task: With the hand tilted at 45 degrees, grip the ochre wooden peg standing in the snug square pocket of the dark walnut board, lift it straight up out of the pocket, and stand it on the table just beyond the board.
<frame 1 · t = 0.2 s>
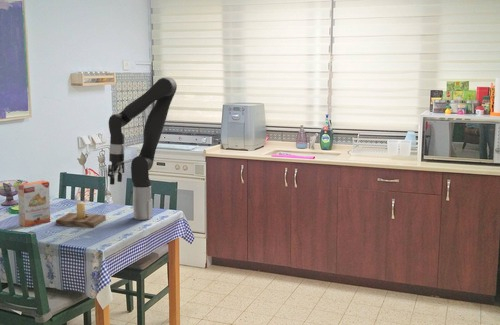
hand: (115, 183, 289), 18 cm above the table, tool pointing down, fingers open, 8 cm apart
cracker box: (35, 224, 276), on the table
ochre peg: (80, 212, 279), in the walnut pocket board
walnut pocket board: (81, 222, 279), on the table
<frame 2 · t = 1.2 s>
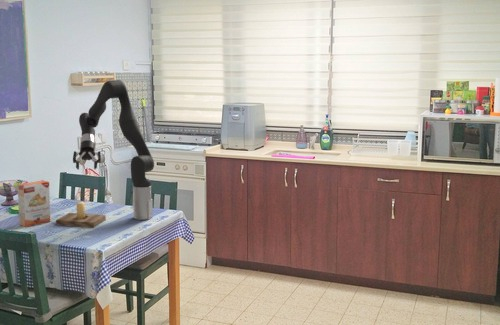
hand: (86, 168, 291), 25 cm above the table, tool tilted 45°, fingers open, 8 cm apart
nothing on the table moved.
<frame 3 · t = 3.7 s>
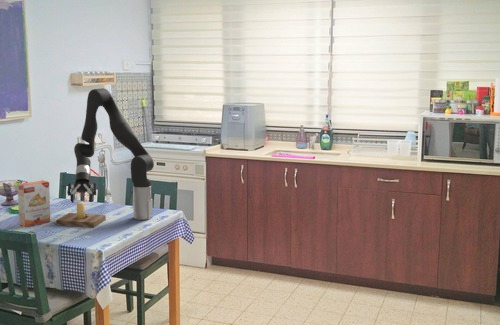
hand: (81, 201, 282), 10 cm above the table, tool tilted 45°, fingers open, 8 cm apart
nothing on the table moved.
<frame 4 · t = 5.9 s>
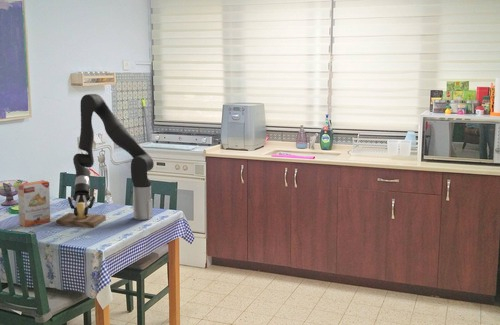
hand: (80, 215, 277), 4 cm above the table, tool tilted 45°, fingers closed on ochre peg, 4 cm apart
ochre peg: (81, 212, 279), in the walnut pocket board, touching gripper
everything else where it was.
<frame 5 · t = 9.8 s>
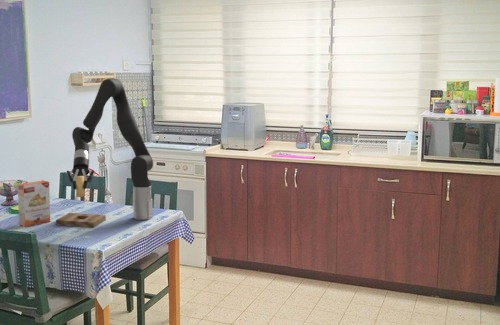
hand: (79, 188, 275), 18 cm above the table, tool tilted 45°, fingers closed on ochre peg, 4 cm apart
ochre peg: (80, 186, 276), point 19 cm above the table, touching gripper
everything else where it was.
when the fingers open (6 cm above the table, at t = 14.1 s): ochre peg drops 1 cm, on the table.
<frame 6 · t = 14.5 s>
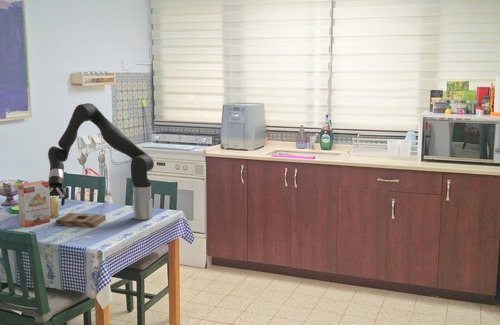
hand: (53, 205, 286), 6 cm above the table, tool tilted 45°, fingers open, 8 cm apart
ochre peg: (54, 207, 288), on the table
everything else where it was.
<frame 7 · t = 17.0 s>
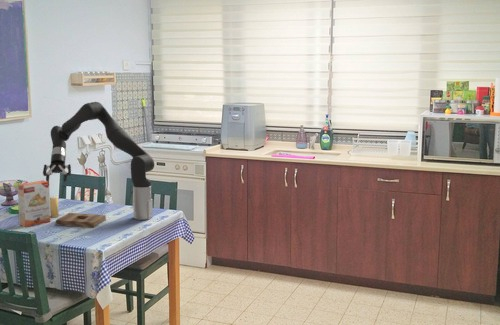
hand: (56, 181, 296), 16 cm above the table, tool tilted 45°, fingers open, 8 cm apart
nothing on the table moved.
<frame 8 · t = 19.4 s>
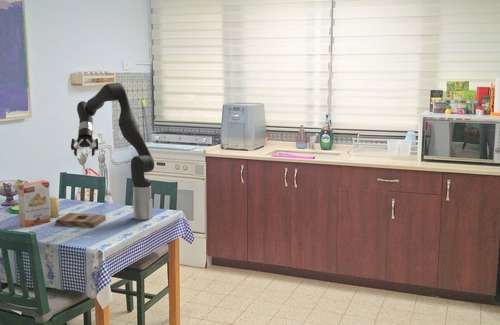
hand: (84, 155, 296), 31 cm above the table, tool tilted 45°, fingers open, 8 cm apart
nothing on the table moved.
at the end: ochre peg inside the target area (0.1 cm from its centre), on the table; ochre peg tilted 0°; the gripper is holding nothing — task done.
